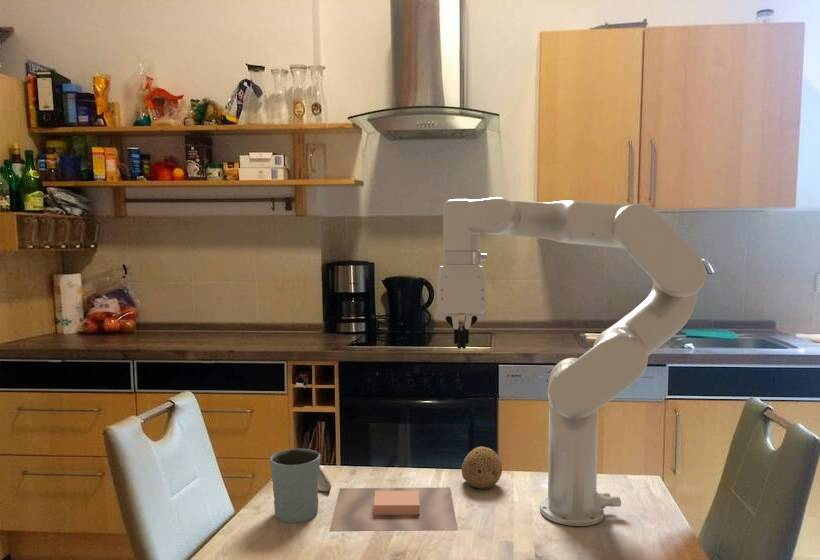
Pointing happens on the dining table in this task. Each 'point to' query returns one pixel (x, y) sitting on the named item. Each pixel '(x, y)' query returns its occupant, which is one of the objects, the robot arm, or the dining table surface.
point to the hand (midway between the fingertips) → (461, 347)
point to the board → (359, 515)
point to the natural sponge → (482, 468)
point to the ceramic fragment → (323, 482)
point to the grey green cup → (295, 484)
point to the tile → (396, 503)
